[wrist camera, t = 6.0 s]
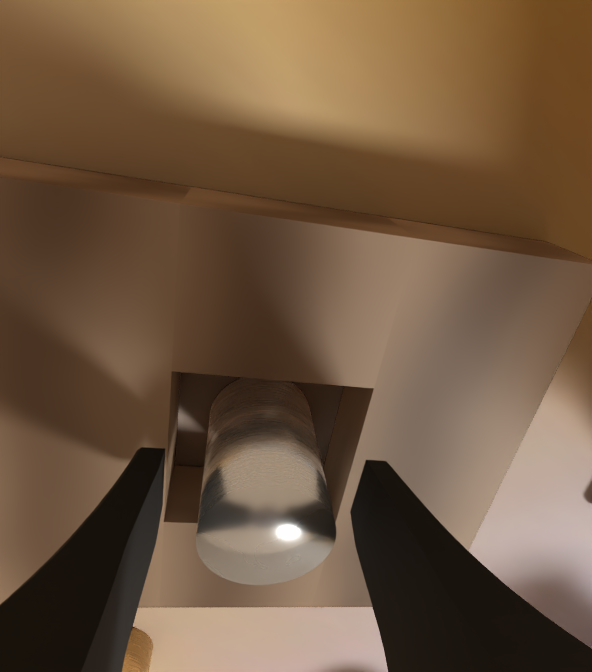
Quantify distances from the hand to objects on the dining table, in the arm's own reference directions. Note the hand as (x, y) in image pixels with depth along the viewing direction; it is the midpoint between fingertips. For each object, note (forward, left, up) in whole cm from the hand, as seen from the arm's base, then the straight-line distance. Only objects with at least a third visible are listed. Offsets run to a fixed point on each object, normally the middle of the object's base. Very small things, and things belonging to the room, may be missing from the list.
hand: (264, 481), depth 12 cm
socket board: (0, 0, -3) cm, 3 cm away
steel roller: (0, 0, -3) cm, 3 cm away
